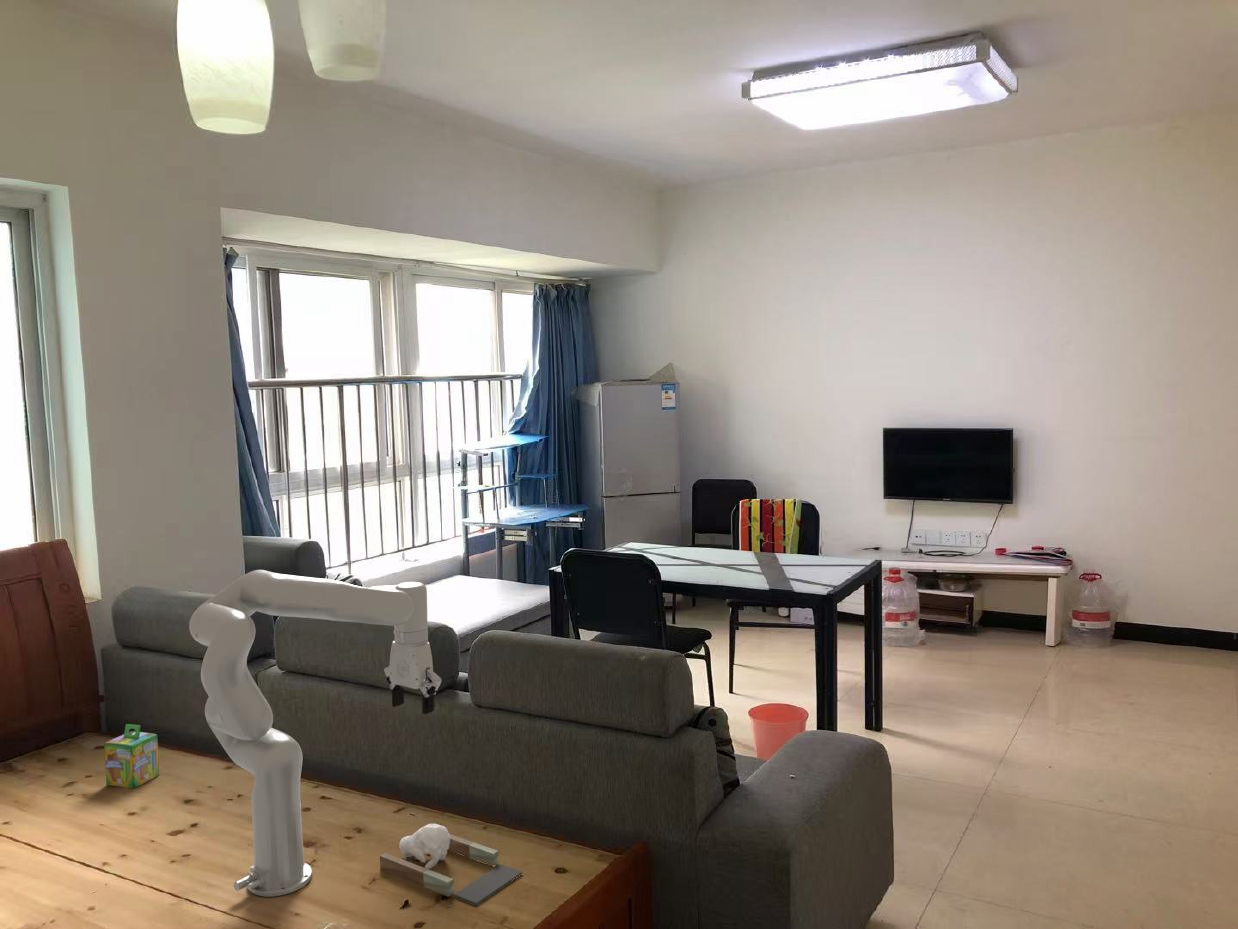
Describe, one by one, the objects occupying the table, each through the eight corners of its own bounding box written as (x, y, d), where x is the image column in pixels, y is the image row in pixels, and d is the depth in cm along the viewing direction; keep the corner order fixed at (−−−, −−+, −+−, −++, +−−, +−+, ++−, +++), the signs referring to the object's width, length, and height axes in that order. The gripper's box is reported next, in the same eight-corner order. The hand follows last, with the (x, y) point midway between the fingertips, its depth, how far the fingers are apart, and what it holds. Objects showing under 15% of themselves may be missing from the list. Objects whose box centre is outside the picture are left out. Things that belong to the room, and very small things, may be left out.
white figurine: (433, 833, 199) (388, 827, 204) (438, 873, 199) (393, 866, 204) (451, 820, 204) (407, 815, 210) (456, 859, 205) (412, 853, 210)
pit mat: (476, 906, 187) (476, 903, 187) (454, 897, 190) (453, 894, 190) (522, 874, 198) (522, 871, 198) (500, 866, 201) (500, 864, 201)
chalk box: (105, 786, 247) (101, 730, 246) (133, 772, 256) (129, 718, 254) (134, 790, 244) (130, 733, 243) (161, 775, 253) (157, 721, 252)
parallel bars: (448, 896, 190) (448, 882, 190) (380, 869, 201) (379, 856, 201) (498, 864, 202) (498, 851, 202) (431, 840, 214) (431, 827, 213)
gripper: (372, 634, 221) (374, 707, 222) (426, 645, 211) (428, 720, 213) (396, 628, 227) (398, 698, 228) (450, 637, 218) (451, 710, 219)
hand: (413, 708), depth 220 cm, fingers open, 9 cm apart
